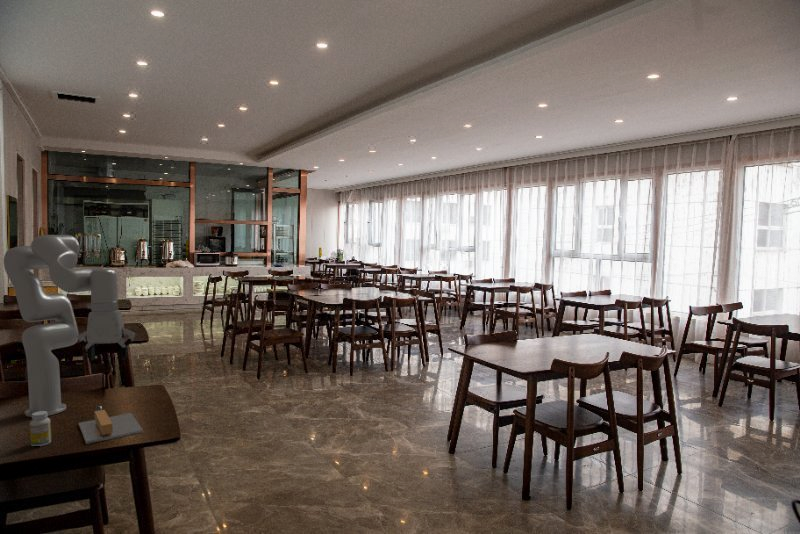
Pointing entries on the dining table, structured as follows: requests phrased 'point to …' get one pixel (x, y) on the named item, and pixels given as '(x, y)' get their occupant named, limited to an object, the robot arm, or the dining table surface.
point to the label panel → (120, 424)
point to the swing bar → (103, 422)
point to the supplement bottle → (40, 429)
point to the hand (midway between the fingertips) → (107, 359)
